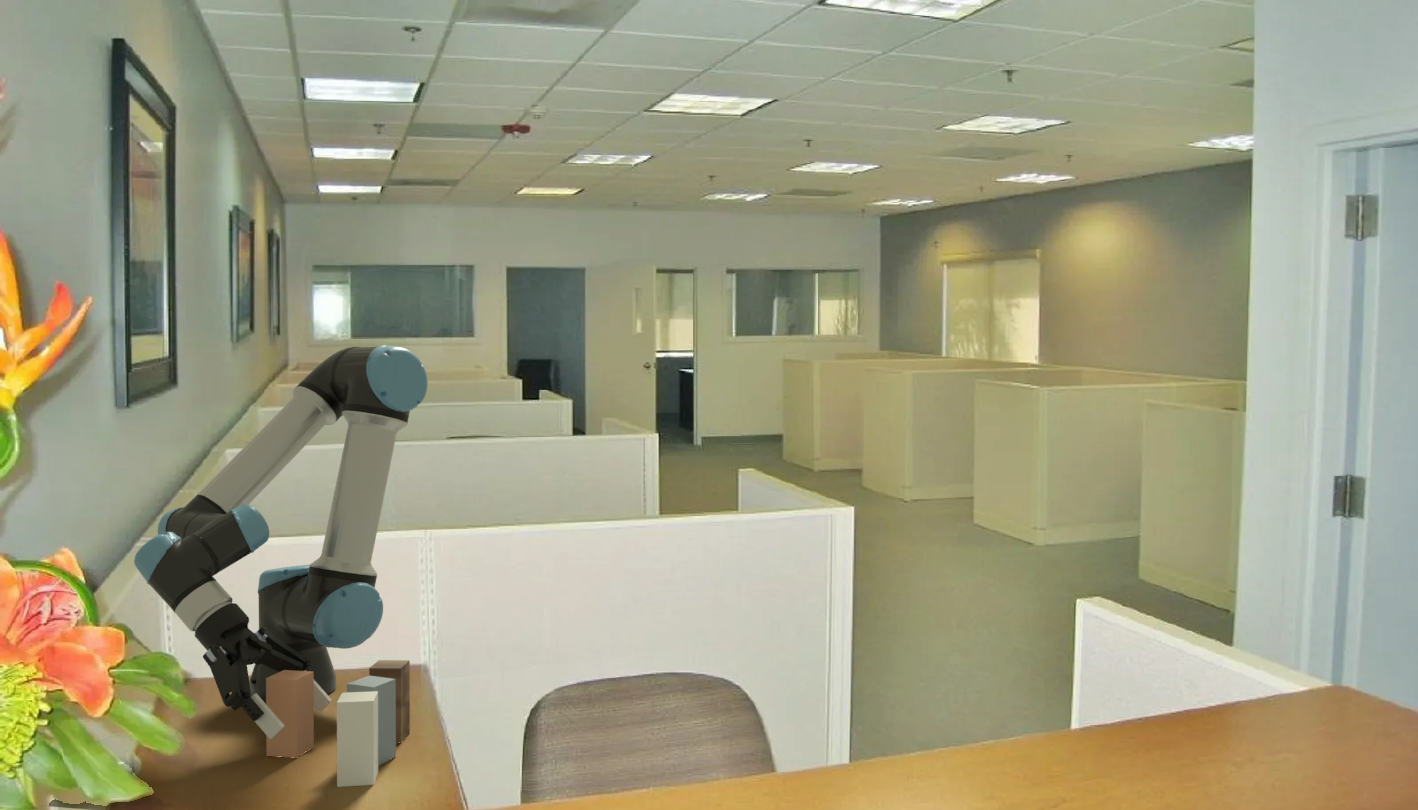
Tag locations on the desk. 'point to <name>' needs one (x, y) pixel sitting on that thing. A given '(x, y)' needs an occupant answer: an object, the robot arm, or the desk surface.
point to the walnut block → (397, 691)
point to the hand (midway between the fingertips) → (302, 719)
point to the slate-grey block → (381, 712)
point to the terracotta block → (291, 712)
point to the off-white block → (357, 738)
